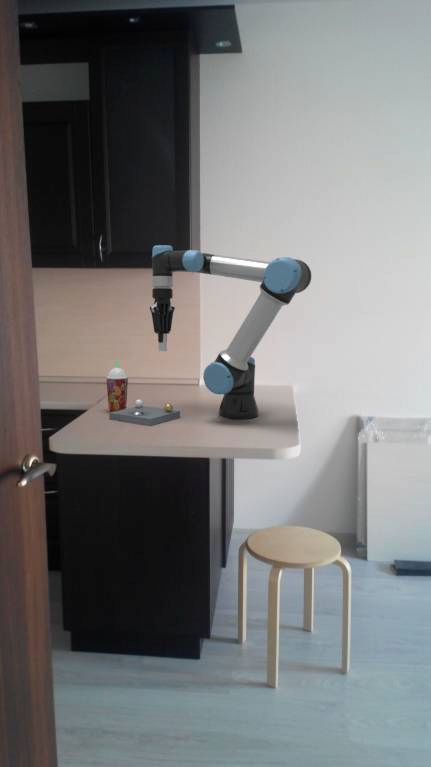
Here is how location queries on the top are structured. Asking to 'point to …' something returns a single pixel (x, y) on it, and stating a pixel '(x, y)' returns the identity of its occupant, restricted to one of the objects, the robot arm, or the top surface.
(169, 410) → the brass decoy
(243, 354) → the robot arm
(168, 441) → the top surface
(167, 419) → the bearing plate
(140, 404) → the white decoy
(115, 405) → the smoothie
